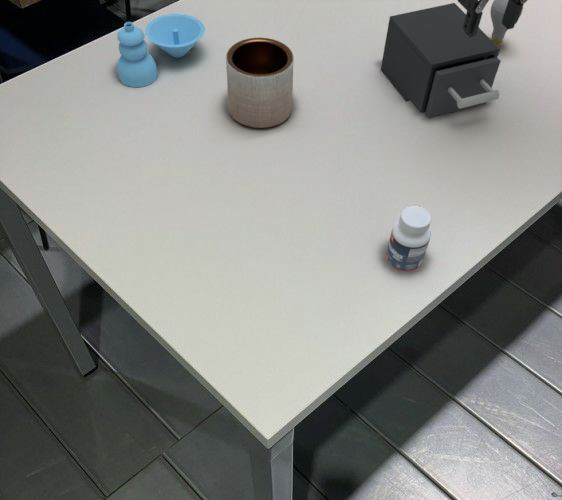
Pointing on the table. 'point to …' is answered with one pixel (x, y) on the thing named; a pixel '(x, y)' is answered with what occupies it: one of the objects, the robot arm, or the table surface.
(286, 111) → the planter
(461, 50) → the small drawer cabinet
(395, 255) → the pill bottle
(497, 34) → the light bulb
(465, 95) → the pull-out drawer
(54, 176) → the table surface
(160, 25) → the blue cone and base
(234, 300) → the table surface
